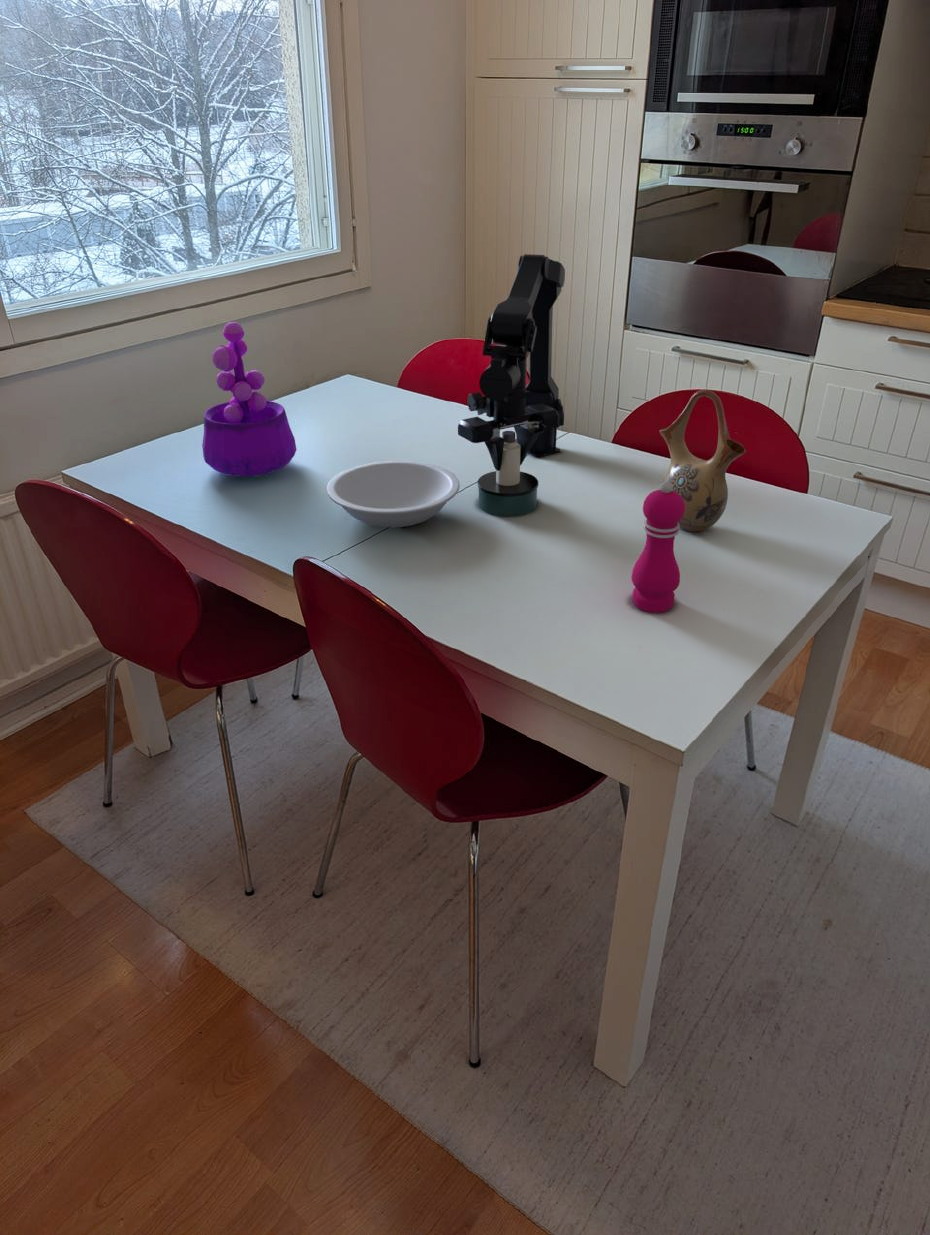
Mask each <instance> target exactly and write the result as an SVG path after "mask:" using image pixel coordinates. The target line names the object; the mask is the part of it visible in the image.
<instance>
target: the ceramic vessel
mask: <svg viewBox="0 0 930 1235" xmlns="http://www.w3.org/2000/svg"><path fill="white" fill-rule="evenodd" d="M702 397H706V398H708V399H710V400H711V401H712V402H713V403H714V407H715V411H716V416H717V426H718V433H717V434H718V436H717V446H716V450H715V452H714V455H713V456H712V457H711V458H709V459H708V460H706V459H703V458H700V457H697V456H696V455H693V454H692V453H691V451H689V449H688V446H687V443H686V440H685V433H686V429H687V425H688V422H689V419H690V416H691V414H692V411H693V409H694V407H695V406H696V403H697V401H698V400H699V398H702ZM724 411H725V410H724V407H723V402H722V400H721V398H720V397H719V396H718V394H716V393H715V392H714V391H712V390H710V389H701V390H698V391H696V392H694V393H693V394H692V396H691V397H690V398H689V400H688V402H687V404H686V406H685V407H684V409H683V410H682V412H681V413H680V414H679V416H678V417H677V418H676V419H675V420H674V421H673V422H672V423H671V424H670V426H668V427H664V428H661V429H659V430H658V432H659V434H660V436H662V438H663V439H664V441H665V443H666V445H667V447H668V451H669V455H670V465H669V468H668V470H667V471H666V473H665V475H664V477H663V480H662V482H664V481H669V482H671V483H672V485H673V489H672V491H675V492H677V493H678V494H679V495H680V496H681V497H682V498H683V500H684V503H685V513H684V516H683V518H682V519H681V520H680V521H679V525H680V526H679V528H678V529H681V530H684V531H687V532H693V533H699V532H704V531H706V530H707V529H709V528H711V527H713V526H714V525H715V524H717V522H718V521H719V520H720V519H721V517H722V516H723V514H724V513H725V510H726V507H727V504H728V498H729V489H728V484H727V479H726V473H727V470H728V468H729V466H730V465H731V463H733V462H734V461H735V460H737V459H738V458H740V457H741V456H742V455H744V454H745V453H746V450H747V449H746V447H745V446H744V445H743V444H742V443H741V442H739V441H738V440H735V439H734V440H733V439H732V438H731V436H730V433H729V429H728V426H727V421H726V416H725V412H724Z"/></svg>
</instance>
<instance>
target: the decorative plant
mask: <svg viewBox="0 0 930 1235" xmlns="http://www.w3.org/2000/svg"><path fill="white" fill-rule="evenodd" d="M222 335H223V337H224V339H226V341H228V344H227V345H224V344H223V345H222V344H221V345H219V347H217V348H216V349H214V351H213V352H212V355H211V359H212V360H211V361H212V363H213V366H215V368H216V369H218V370H220V372H219V373H218V374H217V375H216V380H215V382H216V385H217V386H218V388H219V389H220V390H222V391H223V392H224V391H225V392H229V391H230V393H232V395H233V397H232V398H231V399H230V400H229V401H227V402H223V403H219V404H217V405H214V406H211V407H210V408H209V409H207V410H206V411H205V412H204V415H203V437H202V443H201V446H202V456H203V460H204V462H205V463H206V465H208V466H209V467H210V468H211V469H213V470H214V471H216V472H218V473H219V474H224V475H227V476H234V477H258V476H263V475H267V474H270V473H273V472H276V471H279V470H280V469H283V468H284V467H286V466H287V465H289V464H290V462H291V461H292V460H293V458H295V456H296V452H297V450H298V449H297V445H296V438H295V435H294V433H293V431H292V428H291V427H290V423H289V419H288V416H287V413H286V409H285V407H284V406H283V405H282V404H281V403H278V402H275V401H271V400H267V398H266V396H265V395H264V394H263V393H261V392H258V390H260V389H262V387H263V386H264V384H265V382H266V381H265V376H264V375H263V373H262V372H261V371H259V370H258V369H257V370H256V369H253V370H248V371H247V372H246V373H245V367H244V366H245V365H244V361H243V356H244V355H246V353H247V352H248V345H247V343H246V342H245V341H244V340H243V338H244V337H245V330H244V328H243V327H242V326H241V324H240V323H238V322H237V321H229V322H227V323H226V324H225V325H224V327H223V331H222ZM232 371H233V372H232Z"/></svg>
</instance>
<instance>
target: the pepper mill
mask: <svg viewBox="0 0 930 1235" xmlns="http://www.w3.org/2000/svg"><path fill="white" fill-rule="evenodd" d="M672 489H673V485H672V483H671V482H669V481H664V482H663V481H662V482H661V483H660V485H659V489H655V490H653V491H652V492H650V493H649V494H648V495H647V496H646V497H645V498H644V501H643V505H642V513H643V516H644V518H646V519H645V520H644V527H643V530H644V532H645V534H646V538H645V539H646V540H645V545H644V548H643V550H642V552H641V553H640V555H639V557H638V558H637V560H636V561H635V564H634V566H633V568H632V571H631V577H630V579H631V582H632V585H633V587H634V588H633V589H632V590H633V591H632V599H631V601H632V604H633V605H634V606H635V607H636V608H637V609H638V610H641V611H644V612H647V613H664V612H667V611H670V610H671V608H673V607H674V604H675V591H676V590H677V589H678V587H679V586H680V583H681V572H680V567H679V565H678V562H677V559H676V556H675V551H674V548H675V547H674V546H675V539H676V536H677V535H678V534H679V533H680V528H679V526H680V525H679V521H680V520H681V519H682V518H683V516H684V513H685V503H684V500H683V498H682V497H681V496H680V495H679V494H678V493H677V492H675V491H672Z"/></svg>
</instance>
